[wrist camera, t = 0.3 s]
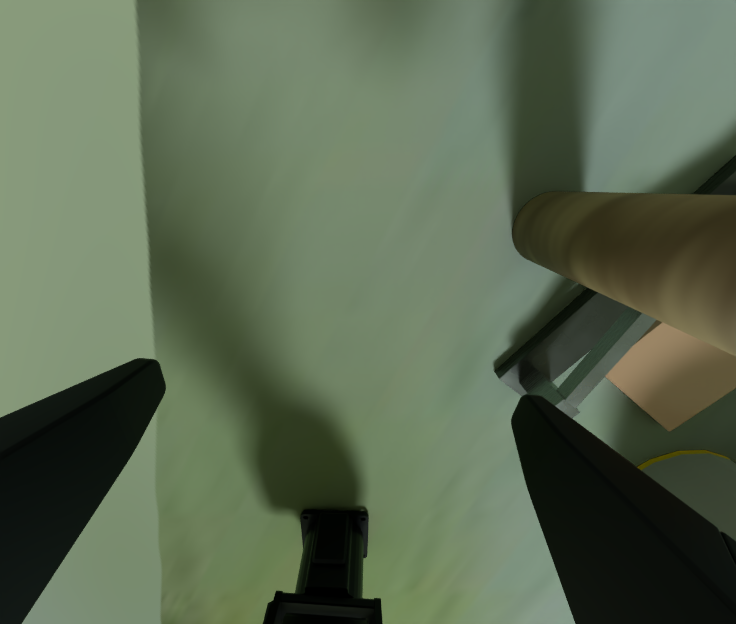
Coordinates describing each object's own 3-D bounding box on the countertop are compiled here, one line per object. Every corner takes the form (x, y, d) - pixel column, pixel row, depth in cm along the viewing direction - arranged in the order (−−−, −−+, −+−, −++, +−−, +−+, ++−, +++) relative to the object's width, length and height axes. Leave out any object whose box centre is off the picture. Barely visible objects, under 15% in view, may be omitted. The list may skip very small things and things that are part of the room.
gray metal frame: (522, 393, 24) (553, 435, 20) (492, 370, 24) (518, 409, 19) (763, 191, 19) (876, 192, 14) (734, 152, 18) (844, 142, 14)
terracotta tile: (658, 423, 25) (669, 432, 24) (590, 364, 23) (599, 371, 22) (769, 348, 23) (786, 355, 22) (703, 274, 21) (718, 278, 20)
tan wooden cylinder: (572, 263, 20) (858, 371, 8) (506, 261, 20) (698, 367, 8) (591, 192, 19) (983, 201, 7) (520, 190, 19) (783, 195, 7)
